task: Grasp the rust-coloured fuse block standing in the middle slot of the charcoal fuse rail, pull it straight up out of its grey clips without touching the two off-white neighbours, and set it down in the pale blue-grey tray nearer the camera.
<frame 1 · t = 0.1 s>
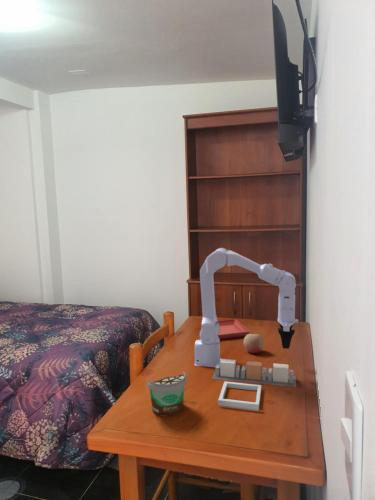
hand: (285, 344, 135), 10 cm above the table, tool pointing down, fingers open, 7 cm apart
fuse rail: (253, 378, 131), on the table
plant saucer: (224, 333, 177), on the table
tray: (240, 398, 118), on the table
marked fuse: (253, 377, 131), point 1 cm above the table, touching fuse rail
fruit: (253, 353, 153), on the table
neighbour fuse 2: (280, 379, 129), point 1 cm above the table, touching fuse rail
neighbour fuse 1: (227, 374, 133), point 1 cm above the table, touching fuse rail
food container: (171, 412, 111), on the table
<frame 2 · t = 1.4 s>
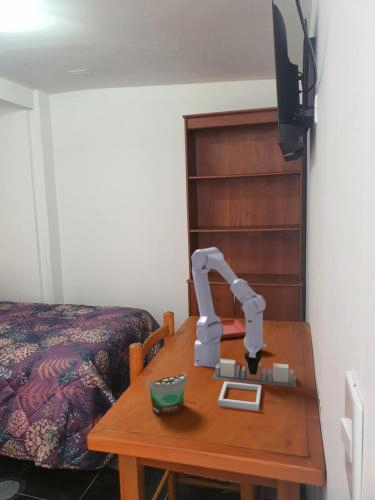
hand: (254, 369, 130), 3 cm above the table, tool pointing down, fingers open, 7 cm apart
nothing on the table moved.
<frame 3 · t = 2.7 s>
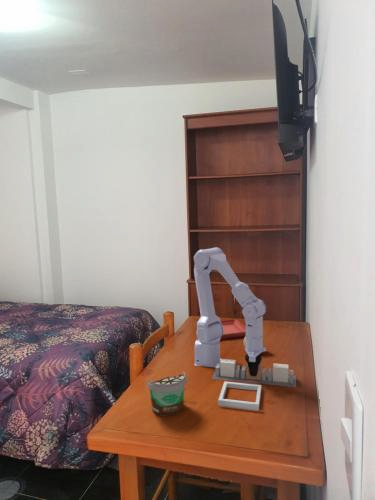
hand: (253, 373, 131), 2 cm above the table, tool pointing down, fingers closed on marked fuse, 3 cm apart
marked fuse: (253, 377, 131), point 1 cm above the table, touching fuse rail, gripper
everything else where it was.
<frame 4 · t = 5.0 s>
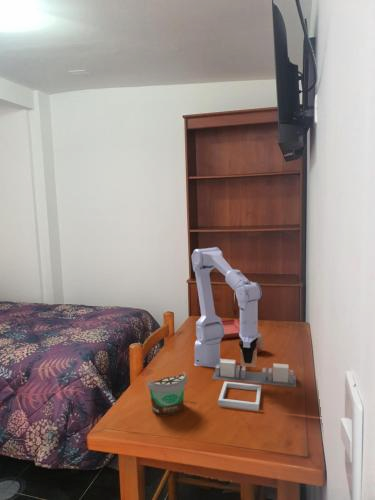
hand: (248, 360, 124), 9 cm above the table, tool pointing down, fingers closed on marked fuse, 3 cm apart
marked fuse: (248, 364, 124), point 8 cm above the table, touching gripper
everything else where it was.
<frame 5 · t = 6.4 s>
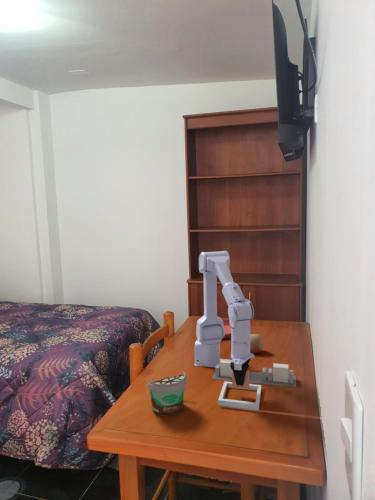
hand: (240, 382, 117), 5 cm above the table, tool pointing down, fingers closed on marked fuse, 3 cm apart
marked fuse: (240, 386, 118), point 4 cm above the table, touching gripper
everything else where it was.
when the fingers open (3 cm above the table, at t = 7.6 s): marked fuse stays where it is, resting on tray.
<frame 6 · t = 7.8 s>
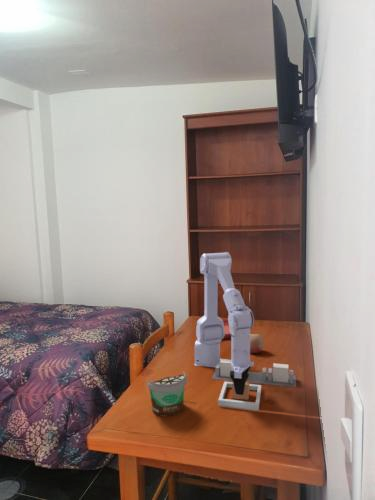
hand: (240, 389, 118), 3 cm above the table, tool pointing down, fingers open, 5 cm apart
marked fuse: (240, 397, 118), resting on tray
everything else where it was.
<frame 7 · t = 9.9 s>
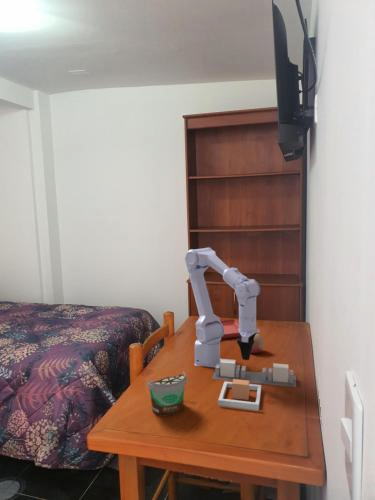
hand: (247, 354, 128), 9 cm above the table, tool pointing down, fingers open, 7 cm apart
nothing on the table moved.
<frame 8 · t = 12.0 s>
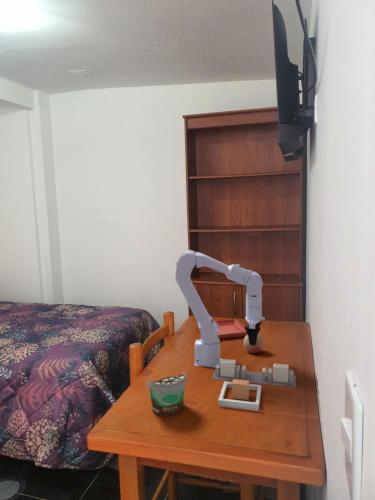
hand: (253, 341, 140), 9 cm above the table, tool pointing down, fingers open, 7 cm apart
nothing on the table moved.
at the end: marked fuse inside the target area on the tray (0.0 cm from its centre), point 0.4 cm above the tray's base; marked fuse tilted 0°; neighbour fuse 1 moved 0.0 cm from its start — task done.
